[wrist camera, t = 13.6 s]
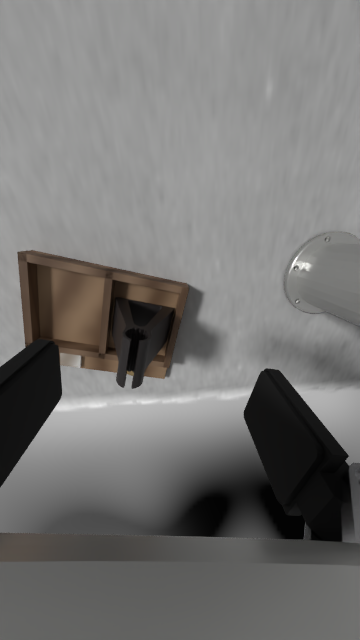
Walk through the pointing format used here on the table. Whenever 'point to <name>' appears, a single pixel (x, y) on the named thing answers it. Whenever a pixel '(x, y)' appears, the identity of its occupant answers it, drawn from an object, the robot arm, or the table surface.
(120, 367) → the phone stand
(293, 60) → the table surface
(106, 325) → the bay board
